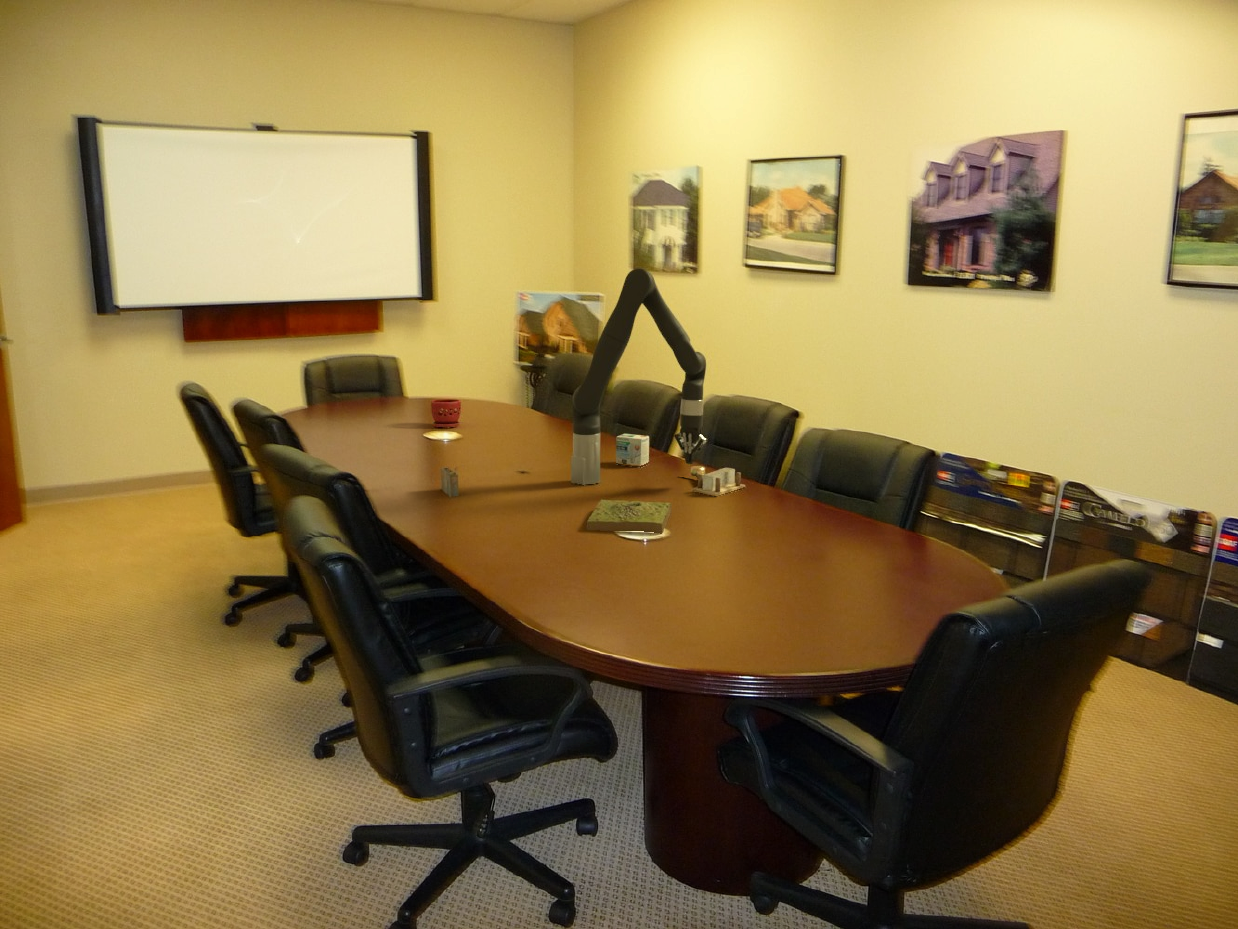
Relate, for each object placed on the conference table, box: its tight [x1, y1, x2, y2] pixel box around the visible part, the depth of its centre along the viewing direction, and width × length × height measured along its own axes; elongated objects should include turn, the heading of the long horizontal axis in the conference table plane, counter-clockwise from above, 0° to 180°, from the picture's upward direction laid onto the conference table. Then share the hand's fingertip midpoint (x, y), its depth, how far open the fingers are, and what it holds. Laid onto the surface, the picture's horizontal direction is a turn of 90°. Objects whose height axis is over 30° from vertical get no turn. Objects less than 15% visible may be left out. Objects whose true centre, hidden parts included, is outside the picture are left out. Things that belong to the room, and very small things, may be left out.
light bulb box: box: [615, 433, 650, 466], centre depth 359 cm, size 11×7×11 cm, turn 62°
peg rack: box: [692, 468, 746, 497], centre depth 322 cm, size 16×10×6 cm, turn 137°
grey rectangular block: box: [703, 467, 736, 491], centre depth 322 cm, size 14×4×5 cm, turn 142°
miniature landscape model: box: [586, 499, 672, 535], centre depth 285 cm, size 22×24×5 cm
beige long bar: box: [690, 465, 706, 479], centre depth 334 cm, size 18×5×3 cm, turn 3°
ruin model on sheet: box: [440, 466, 460, 498], centre depth 316 cm, size 11×3×10 cm, turn 24°
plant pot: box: [430, 398, 462, 429], centre depth 432 cm, size 13×13×12 cm
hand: (689, 463), depth 326 cm, fingers closed
